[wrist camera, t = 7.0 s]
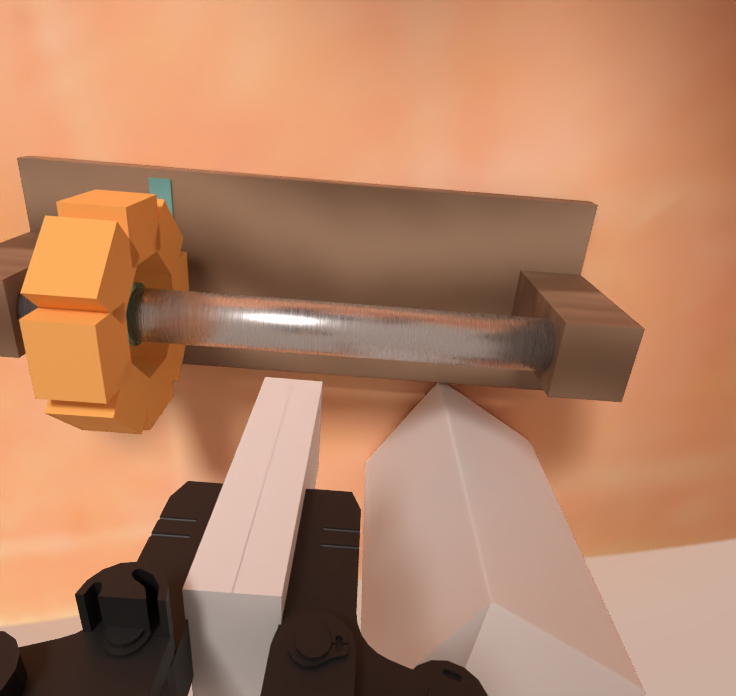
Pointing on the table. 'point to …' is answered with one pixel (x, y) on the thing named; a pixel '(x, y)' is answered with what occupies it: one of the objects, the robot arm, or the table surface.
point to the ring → (101, 310)
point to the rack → (363, 264)
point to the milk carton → (480, 561)
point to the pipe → (334, 329)
